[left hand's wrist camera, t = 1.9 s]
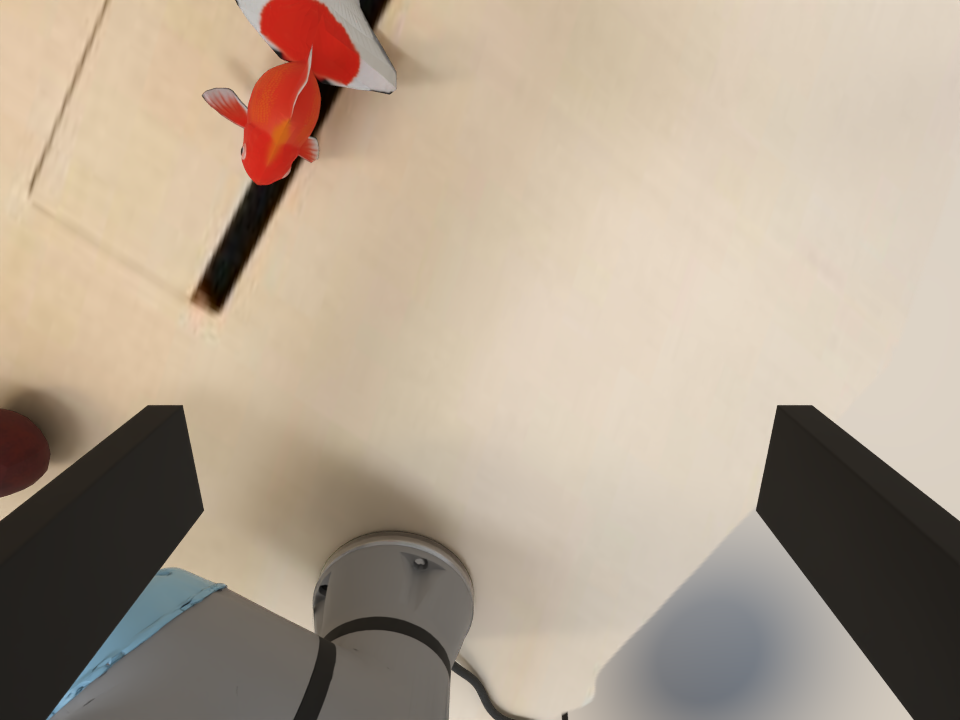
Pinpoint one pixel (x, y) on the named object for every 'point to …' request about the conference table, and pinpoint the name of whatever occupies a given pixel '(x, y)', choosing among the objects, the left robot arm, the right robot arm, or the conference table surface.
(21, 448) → the dark maroon plum
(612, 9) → the conference table surface
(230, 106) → the fish
